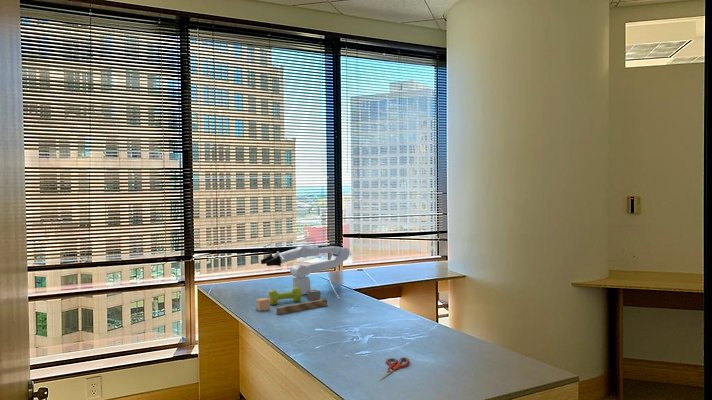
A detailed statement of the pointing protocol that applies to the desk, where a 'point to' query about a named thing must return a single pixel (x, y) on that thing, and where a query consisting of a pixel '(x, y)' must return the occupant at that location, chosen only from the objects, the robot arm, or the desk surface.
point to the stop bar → (301, 306)
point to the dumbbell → (284, 295)
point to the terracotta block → (262, 304)
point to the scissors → (394, 366)
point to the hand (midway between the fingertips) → (263, 263)
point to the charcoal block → (313, 295)
